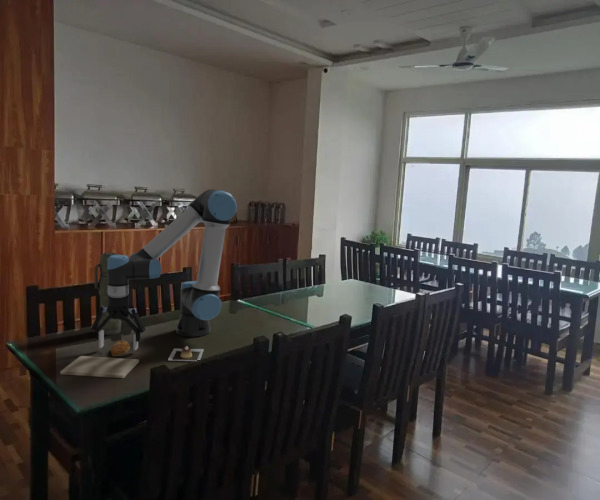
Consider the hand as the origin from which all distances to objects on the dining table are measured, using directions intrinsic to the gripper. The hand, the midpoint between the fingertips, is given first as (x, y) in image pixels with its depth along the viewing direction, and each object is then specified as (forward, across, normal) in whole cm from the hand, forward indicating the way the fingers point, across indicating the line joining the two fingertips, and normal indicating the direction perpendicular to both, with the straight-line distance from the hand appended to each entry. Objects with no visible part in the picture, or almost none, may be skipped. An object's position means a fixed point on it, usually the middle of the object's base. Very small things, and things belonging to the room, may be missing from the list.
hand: (118, 348), depth 179 cm
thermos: (+2, -13, +22) cm, 26 cm away
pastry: (+2, +1, 0) cm, 2 cm away
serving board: (+2, 0, -15) cm, 15 cm away
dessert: (+2, +27, +1) cm, 27 cm away
